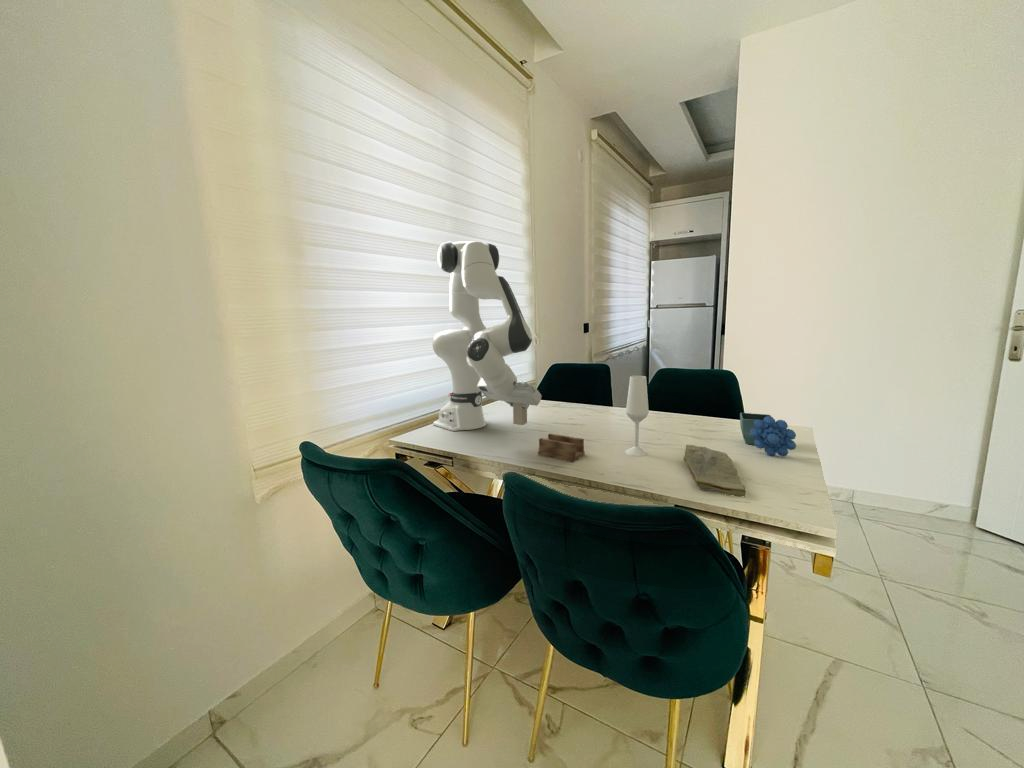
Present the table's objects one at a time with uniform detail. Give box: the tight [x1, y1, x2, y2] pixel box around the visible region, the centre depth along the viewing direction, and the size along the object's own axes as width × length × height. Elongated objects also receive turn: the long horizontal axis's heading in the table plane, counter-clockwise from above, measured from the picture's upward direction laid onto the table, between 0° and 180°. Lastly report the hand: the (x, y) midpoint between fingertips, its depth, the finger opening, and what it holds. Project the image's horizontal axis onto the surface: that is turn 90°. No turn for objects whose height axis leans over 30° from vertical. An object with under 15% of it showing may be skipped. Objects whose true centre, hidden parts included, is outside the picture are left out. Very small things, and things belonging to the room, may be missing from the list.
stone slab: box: [683, 444, 746, 498], centre depth 107 cm, size 12×4×30 cm
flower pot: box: [739, 412, 772, 446], centre depth 128 cm, size 9×9×9 cm
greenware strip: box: [512, 402, 528, 426], centre depth 130 cm, size 4×3×10 cm
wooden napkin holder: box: [537, 433, 585, 463], centre depth 123 cm, size 12×8×5 cm, turn 55°
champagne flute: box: [625, 375, 650, 457], centre depth 121 cm, size 7×7×24 cm
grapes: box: [750, 416, 797, 457], centre depth 115 cm, size 12×7×12 cm, turn 59°
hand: (520, 406), depth 130 cm, fingers closed on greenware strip, 3 cm apart
